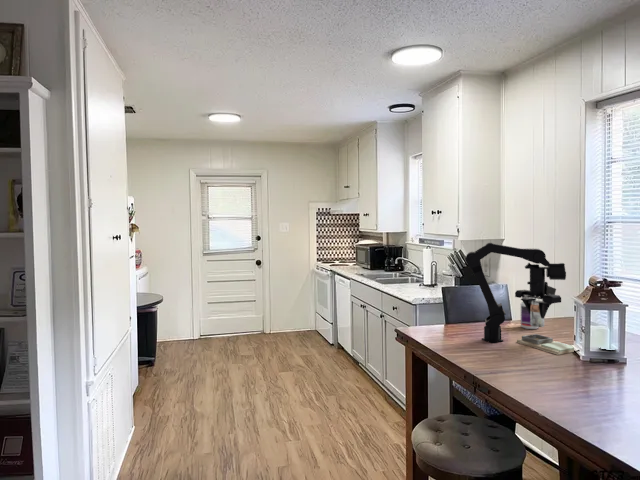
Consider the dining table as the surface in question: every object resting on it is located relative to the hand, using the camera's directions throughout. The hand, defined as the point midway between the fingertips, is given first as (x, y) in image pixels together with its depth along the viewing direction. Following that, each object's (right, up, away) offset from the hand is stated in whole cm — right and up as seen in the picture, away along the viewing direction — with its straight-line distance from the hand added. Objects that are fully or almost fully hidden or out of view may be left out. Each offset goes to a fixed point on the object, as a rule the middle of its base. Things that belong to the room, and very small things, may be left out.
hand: (537, 317), depth 192 cm
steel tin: (0, -4, 0) cm, 4 cm away
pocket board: (+2, -11, -4) cm, 12 cm away
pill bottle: (+9, -10, +28) cm, 31 cm away
